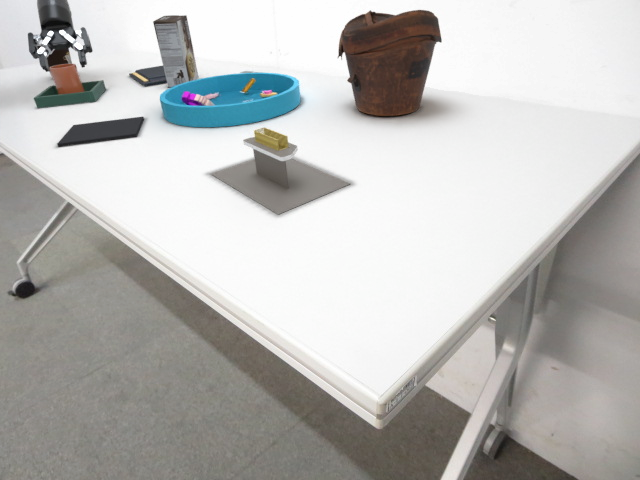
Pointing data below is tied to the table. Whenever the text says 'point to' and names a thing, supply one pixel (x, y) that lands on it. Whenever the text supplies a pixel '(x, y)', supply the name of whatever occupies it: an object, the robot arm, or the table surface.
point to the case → (389, 59)
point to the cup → (66, 78)
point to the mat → (102, 131)
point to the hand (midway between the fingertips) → (64, 67)
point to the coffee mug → (58, 57)
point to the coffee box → (176, 49)
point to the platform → (277, 174)
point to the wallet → (150, 76)
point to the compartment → (70, 95)
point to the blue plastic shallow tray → (230, 99)
